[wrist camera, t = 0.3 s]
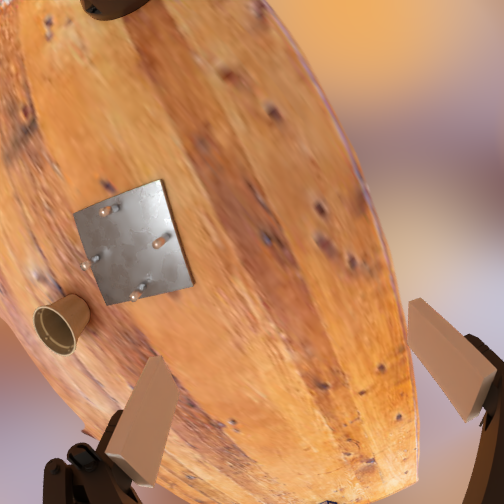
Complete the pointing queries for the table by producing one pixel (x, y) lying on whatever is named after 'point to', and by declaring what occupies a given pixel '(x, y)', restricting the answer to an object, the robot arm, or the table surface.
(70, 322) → the flower pot
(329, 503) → the milk carton
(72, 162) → the table surface
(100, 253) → the plate
